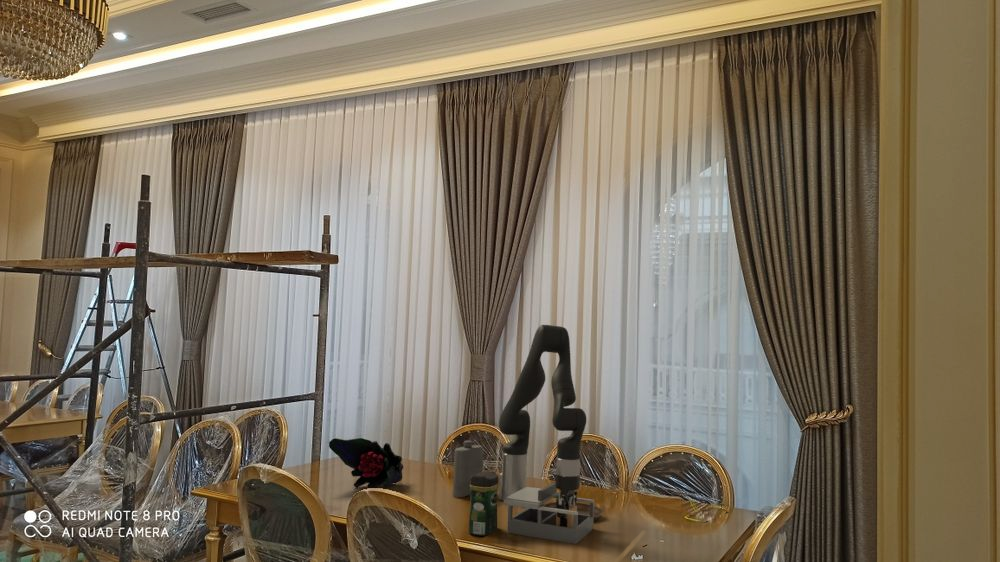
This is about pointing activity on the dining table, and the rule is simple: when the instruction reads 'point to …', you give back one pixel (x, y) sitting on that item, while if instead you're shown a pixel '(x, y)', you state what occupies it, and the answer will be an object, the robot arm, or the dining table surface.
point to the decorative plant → (369, 461)
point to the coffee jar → (483, 503)
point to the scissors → (698, 510)
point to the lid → (532, 496)
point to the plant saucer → (582, 509)
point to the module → (569, 519)
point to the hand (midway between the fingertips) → (566, 528)
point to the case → (550, 523)
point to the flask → (466, 467)
